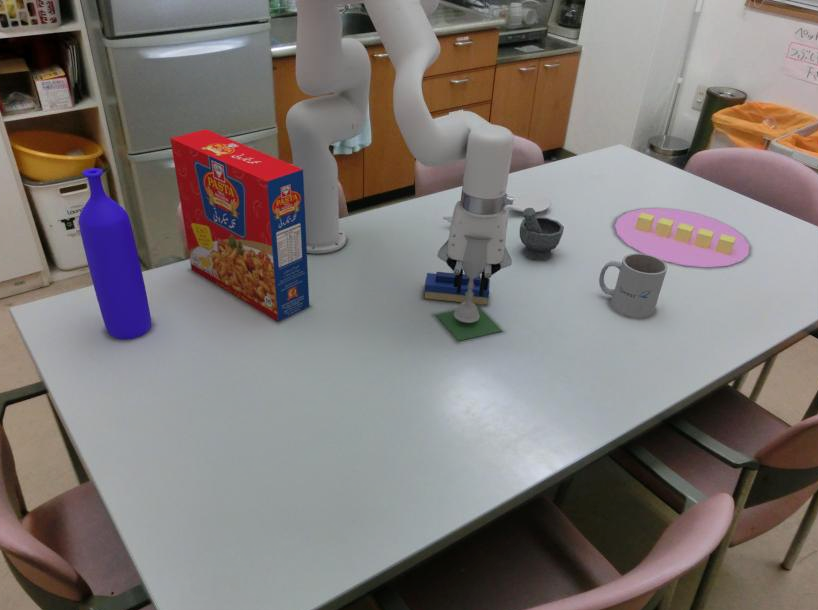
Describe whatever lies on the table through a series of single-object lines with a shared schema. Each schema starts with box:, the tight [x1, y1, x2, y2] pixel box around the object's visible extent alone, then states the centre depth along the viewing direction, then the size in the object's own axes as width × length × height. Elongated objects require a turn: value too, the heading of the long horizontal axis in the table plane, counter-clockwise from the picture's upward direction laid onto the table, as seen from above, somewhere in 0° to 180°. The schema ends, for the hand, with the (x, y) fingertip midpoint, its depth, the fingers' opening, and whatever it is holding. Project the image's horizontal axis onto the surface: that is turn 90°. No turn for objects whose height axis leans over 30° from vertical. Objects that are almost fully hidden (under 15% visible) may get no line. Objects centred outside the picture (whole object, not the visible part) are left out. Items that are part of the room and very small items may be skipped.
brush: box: [424, 271, 491, 306], centre depth 140 cm, size 13×5×5 cm, turn 83°
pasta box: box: [169, 128, 310, 323], centre depth 132 cm, size 28×8×28 cm, turn 49°
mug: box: [598, 252, 668, 319], centre depth 139 cm, size 12×9×10 cm
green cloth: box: [435, 305, 503, 342], centre depth 134 cm, size 10×10×1 cm
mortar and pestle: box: [519, 208, 565, 261], centre depth 155 cm, size 11×9×12 cm
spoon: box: [442, 193, 552, 223], centre depth 171 cm, size 9×32×4 cm, turn 128°
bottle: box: [78, 167, 152, 340], centre depth 118 cm, size 8×8×30 cm
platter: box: [614, 207, 750, 269], centre depth 168 cm, size 32×32×3 cm
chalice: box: [454, 236, 493, 323], centre depth 128 cm, size 7×7×18 cm
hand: (469, 290), depth 130 cm, fingers closed on chalice, 3 cm apart
